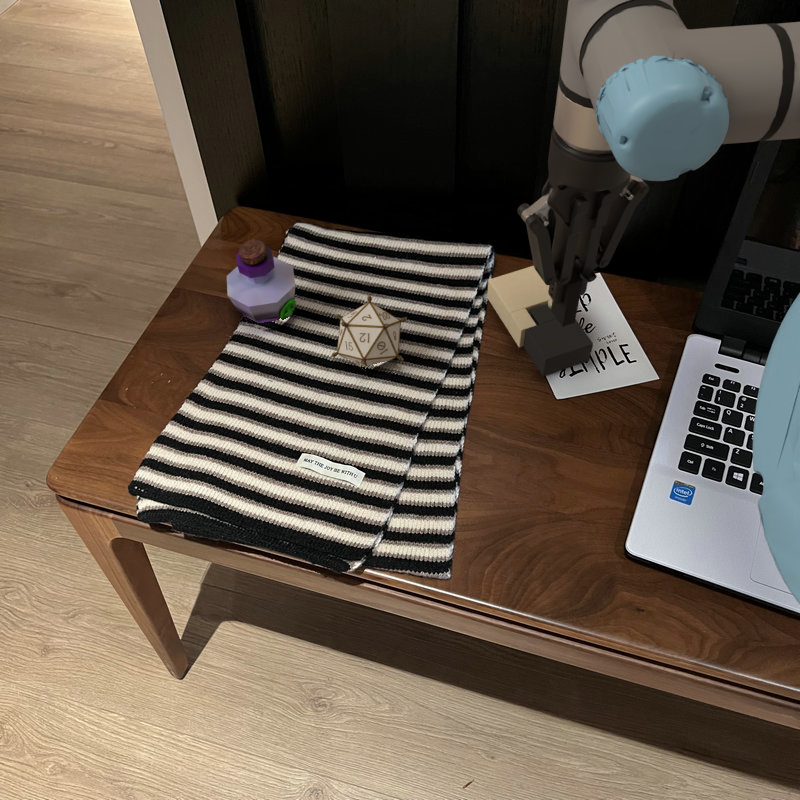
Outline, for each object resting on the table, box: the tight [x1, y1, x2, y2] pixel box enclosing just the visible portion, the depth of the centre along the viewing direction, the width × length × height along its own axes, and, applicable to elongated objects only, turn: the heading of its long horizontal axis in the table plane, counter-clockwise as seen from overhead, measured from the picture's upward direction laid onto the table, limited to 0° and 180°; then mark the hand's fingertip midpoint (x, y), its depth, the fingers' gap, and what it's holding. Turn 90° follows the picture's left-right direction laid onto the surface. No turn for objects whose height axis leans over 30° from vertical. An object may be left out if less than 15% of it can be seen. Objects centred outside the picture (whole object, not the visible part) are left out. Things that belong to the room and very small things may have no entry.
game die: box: [330, 293, 408, 370], centre depth 90 cm, size 9×8×10 cm
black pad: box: [523, 305, 594, 377], centre depth 91 cm, size 8×6×4 cm
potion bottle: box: [226, 238, 297, 323], centre depth 93 cm, size 9×9×12 cm
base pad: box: [486, 265, 552, 348], centre depth 94 cm, size 9×7×4 cm
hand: (562, 316), depth 86 cm, fingers closed
